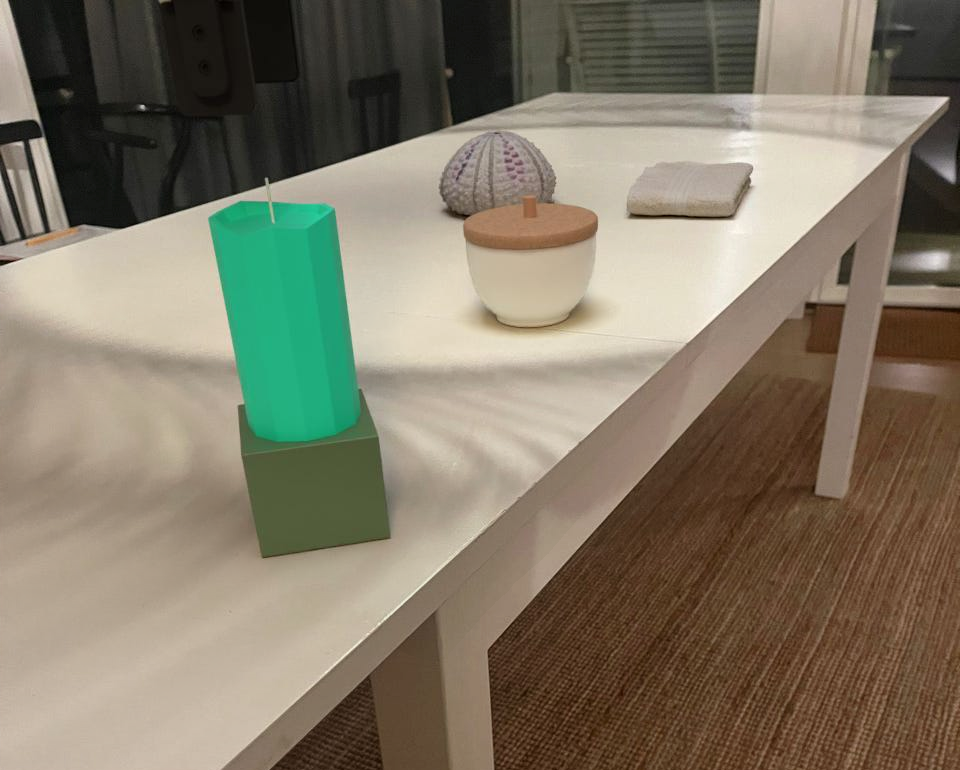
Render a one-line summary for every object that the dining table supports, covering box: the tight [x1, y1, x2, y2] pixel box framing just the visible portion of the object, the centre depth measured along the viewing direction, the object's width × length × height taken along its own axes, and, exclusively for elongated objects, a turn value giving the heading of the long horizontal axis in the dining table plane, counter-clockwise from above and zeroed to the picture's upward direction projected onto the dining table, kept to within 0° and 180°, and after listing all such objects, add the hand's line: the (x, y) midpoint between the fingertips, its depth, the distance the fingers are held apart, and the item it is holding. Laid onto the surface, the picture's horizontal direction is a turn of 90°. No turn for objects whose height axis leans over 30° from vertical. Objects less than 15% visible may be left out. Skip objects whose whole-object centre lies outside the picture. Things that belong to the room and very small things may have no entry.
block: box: [237, 388, 391, 558], centre depth 57 cm, size 7×7×6 cm
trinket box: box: [462, 195, 599, 328], centre depth 84 cm, size 11×11×9 cm
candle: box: [207, 177, 361, 442], centre depth 52 cm, size 6×6×12 cm
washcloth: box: [626, 160, 754, 218], centre depth 117 cm, size 12×18×3 cm, turn 162°
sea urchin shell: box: [438, 130, 557, 217], centre depth 117 cm, size 13×14×8 cm
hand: (246, 96), depth 47 cm, fingers open, 9 cm apart
